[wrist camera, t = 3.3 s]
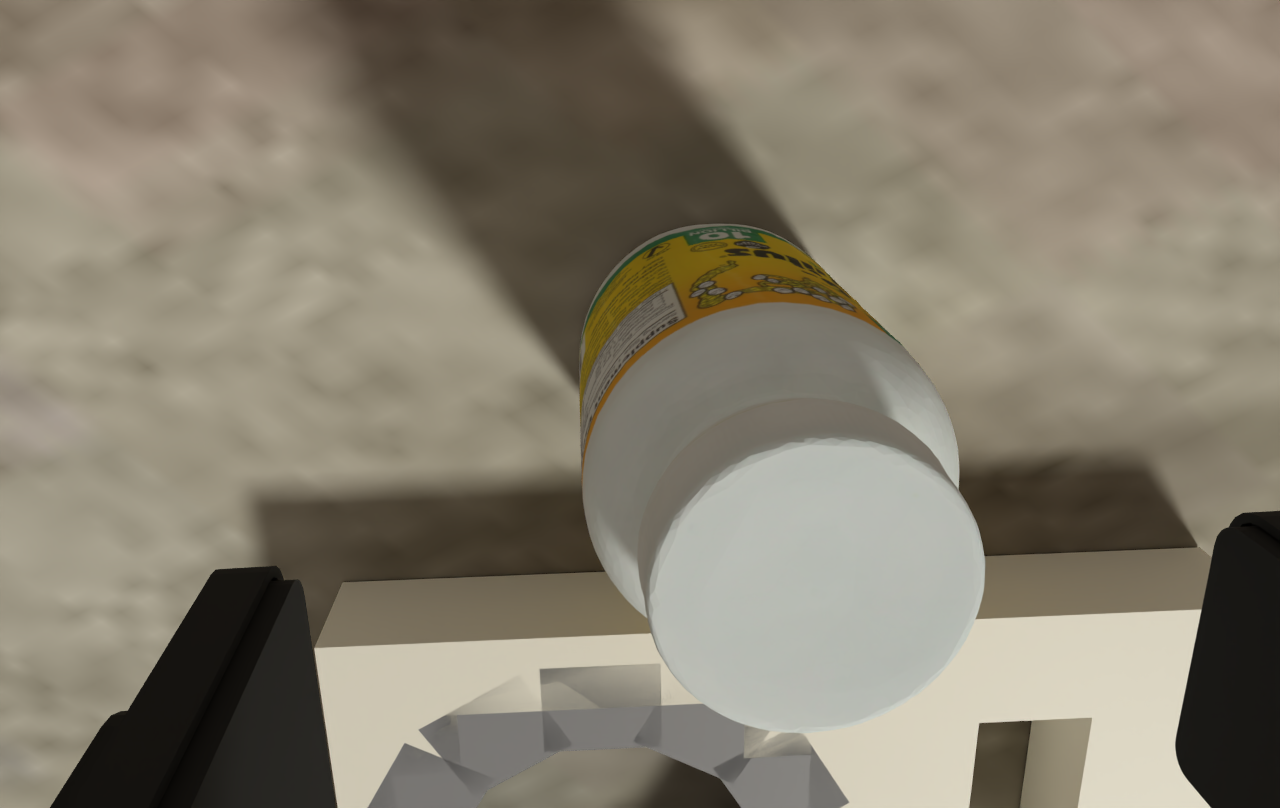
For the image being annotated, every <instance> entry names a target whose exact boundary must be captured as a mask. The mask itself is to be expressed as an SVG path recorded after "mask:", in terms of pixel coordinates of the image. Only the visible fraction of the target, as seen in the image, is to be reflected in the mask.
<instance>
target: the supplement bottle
mask: <svg viewBox="0 0 1280 808" xmlns="http://www.w3.org/2000/svg"><path fill="white" fill-rule="evenodd" d="M579 383H580V421H581V422H580V426H581V475H582V495H583V505H584V511H585V517H586V522H587V526H588V530H589V535H590V538H591V541H592V543H593V546H594V549H595V551H596V554H597V556H598V558H599V560H600V562H601V564H602V566H603V568H604V570H605V571H606V573H607V574H608V576H609V578H610V579H611V581H612V582H613V583H614V585H615V586H616V587H617V589H618V590H619V591H620V592H621V594H622V595H623V596H624V598H625V599H626V600H627V601H628V602H629V603H630V604H631V605H632V606H633V607H634V608H635V609H636V610H638V611H639V612H640V613H641V614H642V615H644V616H645V617H646V618H647V619H648V624H649V628H650V632H651V634H652V637H653V640H654V643H655V645H656V648H657V651H658V652H659V654H660V656H661V657H662V659H663V661H664V662H665V664H666V665H667V667H668V669H669V670H670V672H671V673H672V674H673V675H674V677H675V678H676V679H677V680H678V682H679V683H680V684H681V685H682V686H683V687H684V688H685V689H686V690H687V691H688V692H689V693H690V694H691V695H693V696H694V697H695V698H696V699H697V700H699V701H700V702H702V703H703V704H704V705H706V706H707V707H709V708H710V709H712V710H714V711H715V712H717V713H719V714H721V715H723V716H725V717H727V718H729V719H731V720H733V721H736V722H738V723H741V724H744V725H748V726H752V727H755V728H758V729H764V730H768V731H776V732H785V733H813V732H822V731H830V730H836V729H841V728H847V727H851V726H854V725H858V724H861V723H864V722H866V721H869V720H871V719H874V718H876V717H879V716H881V715H883V714H885V713H887V712H889V711H891V710H893V709H895V708H896V707H899V706H901V705H902V704H904V703H906V702H907V701H908V700H909V699H911V698H912V697H914V696H916V695H918V694H919V693H920V692H921V691H922V690H924V689H925V688H926V687H927V686H928V685H929V684H931V683H932V682H933V681H934V680H935V679H936V678H937V677H938V676H939V675H940V674H941V673H942V671H943V670H944V669H945V668H946V667H947V666H948V665H949V663H950V662H951V661H952V660H953V658H954V657H955V656H956V655H957V653H958V652H959V650H960V649H961V647H962V646H963V644H964V642H965V641H966V639H967V637H968V635H969V633H970V630H971V628H972V626H973V624H974V621H975V619H976V616H977V614H978V611H979V608H980V604H981V600H982V596H983V591H984V582H985V557H984V551H983V545H982V540H981V536H980V532H979V528H978V525H977V523H976V520H975V518H974V516H973V514H972V512H971V510H970V508H969V506H968V504H967V502H966V501H965V499H964V498H963V496H962V495H961V493H960V491H959V457H958V447H957V442H956V437H955V433H954V430H953V426H952V423H951V419H950V417H949V414H948V412H947V409H946V407H945V404H944V402H943V401H942V399H941V397H940V395H939V393H938V391H937V389H936V388H935V386H934V385H933V383H932V382H931V380H930V379H929V378H928V376H927V375H926V373H925V372H924V371H923V369H922V368H921V367H920V365H919V364H918V363H917V362H916V361H915V360H914V358H913V357H912V356H911V355H910V354H909V353H908V351H907V350H906V349H905V348H904V347H903V346H902V344H901V343H900V342H899V341H897V340H896V339H895V338H894V337H893V336H892V335H891V334H890V333H889V332H888V331H886V330H885V329H884V328H883V327H882V326H881V325H880V324H879V323H878V322H877V321H876V320H875V319H874V318H873V317H872V316H871V315H870V314H869V313H868V312H866V311H865V310H864V309H863V308H862V307H861V306H860V305H859V303H858V302H857V301H856V300H854V299H853V298H852V297H851V296H850V295H849V294H848V293H847V292H846V291H845V290H844V289H843V288H842V287H841V286H839V285H838V284H837V283H836V282H835V281H834V280H833V279H832V278H831V277H830V275H828V274H827V273H826V272H825V271H824V269H823V268H822V267H821V266H820V265H819V264H817V263H816V262H815V261H814V260H813V259H812V258H811V257H810V256H809V255H807V254H806V253H805V252H803V251H802V250H801V249H800V248H798V247H797V246H795V245H794V244H792V243H791V242H789V241H788V240H786V239H784V238H782V237H780V236H778V235H776V234H774V233H772V232H769V231H767V230H763V229H760V228H756V227H752V226H747V225H739V224H699V225H692V226H686V227H681V228H677V229H674V230H671V231H668V232H665V233H662V234H659V235H657V236H655V237H653V238H651V239H649V240H648V241H646V242H645V243H643V244H641V245H640V246H638V247H637V248H636V249H634V250H633V251H632V252H631V253H629V254H628V255H627V256H625V257H624V258H623V259H622V260H621V261H620V262H619V263H618V264H617V265H616V266H615V268H614V269H613V270H612V271H611V272H610V274H609V275H608V276H607V278H606V279H605V280H604V282H603V283H602V285H601V286H600V288H599V290H598V291H597V293H596V295H595V297H594V299H593V301H592V303H591V306H590V308H589V311H588V313H587V316H586V318H585V322H584V327H583V331H582V336H581V342H580V355H579Z"/></svg>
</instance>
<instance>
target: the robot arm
mask: <svg viewBox="0 0 1280 808" xmlns="http://www.w3.org/2000/svg"><path fill="white" fill-rule="evenodd" d="M1175 750H1176V757H1177V760H1178V764H1179V766H1180V769H1181V771H1182V773H1183V774H1184V776H1185V777H1186V779H1187V780H1188V781H1189V782H1190V784H1191V785H1192V786H1193V787H1194V788H1195V790H1196V791H1197V792H1198V793H1199V794H1200V795H1201V797H1202V798H1203V799H1204V800H1205V801H1206V802H1207V804H1208V805H1209V806H1210V807H1211V808H1280V511H1270V512H1252V513H1242V514H1240V515H1238V516H1237V517H1235V519H1234V520H1233V521H1232V523H1231V524H1230V526H1229V528H1225V529H1223V530H1222V531H1221V532H1220V533H1219V535H1218V536H1217V539H1216V541H1215V545H1214V550H1213V555H1212V560H1211V565H1210V570H1209V575H1208V580H1207V585H1206V590H1205V595H1204V600H1203V605H1202V610H1201V615H1200V620H1199V624H1198V629H1197V634H1196V639H1195V644H1194V649H1193V654H1192V659H1191V664H1190V669H1189V674H1188V679H1187V684H1186V689H1185V694H1184V699H1183V704H1182V709H1181V714H1180V719H1179V724H1178V729H1177V734H1176V740H1175ZM50 808H335V798H334V791H333V784H332V778H331V771H330V764H329V758H328V751H327V744H326V737H325V731H324V724H323V717H322V710H321V704H320V697H319V690H318V684H317V677H316V670H315V663H314V657H313V650H312V643H311V636H310V630H309V623H308V616H307V609H306V603H305V596H304V591H303V587H302V585H301V582H300V581H299V580H284V579H283V576H282V574H281V571H280V569H279V568H278V567H277V566H269V567H251V568H232V569H218V570H215V571H214V572H213V573H212V574H211V575H210V577H209V579H208V580H207V582H206V584H205V585H204V587H203V589H202V590H201V592H200V593H199V595H198V597H197V598H196V600H195V602H194V603H193V605H192V606H191V608H190V610H189V611H188V613H187V615H186V616H185V618H184V620H183V621H182V623H181V624H180V626H179V628H178V629H177V631H176V633H175V634H174V636H173V638H172V639H171V641H170V642H169V644H168V646H167V647H166V649H165V651H164V652H163V654H162V656H161V657H160V659H159V660H158V662H157V664H156V665H155V667H154V669H153V670H152V672H151V673H150V675H149V677H148V678H147V680H146V682H145V683H144V685H143V687H142V688H141V690H140V691H139V693H138V695H137V696H136V698H135V700H134V701H133V703H132V705H131V706H130V708H129V709H128V711H121V712H118V713H116V714H113V715H111V716H110V717H109V719H108V720H107V721H106V722H105V723H104V724H103V725H102V727H101V728H100V730H99V731H98V733H97V734H96V736H95V738H94V739H93V741H92V742H91V744H90V745H89V747H88V749H87V750H86V752H85V753H84V755H83V757H82V758H81V760H80V761H79V763H78V764H77V766H76V768H75V769H74V771H73V772H72V774H71V775H70V777H69V779H68V780H67V782H66V783H65V785H64V786H63V788H62V790H61V791H60V793H59V794H58V796H57V797H56V799H55V801H54V802H53V804H52V805H51V807H50Z"/></svg>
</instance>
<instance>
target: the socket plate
mask: <svg viewBox="0 0 1280 808" xmlns="http://www.w3.org/2000/svg"><path fill="white" fill-rule="evenodd" d="M984 557H985V582H984V591H983V596H982V600H981V604H980V608H979V611H978V614H977V616H976V619H975V621H974V624H973V626H972V628H971V630H970V633H969V635H968V637H967V639H966V641H965V642H964V644H963V646H962V647H961V649H960V650H959V652H958V653H957V655H956V656H955V657H954V658H953V660H952V661H951V662H950V663H949V665H948V666H947V667H946V668H945V669H944V670H943V671H942V673H941V674H940V675H939V676H938V677H937V678H936V679H935V680H934V681H933V682H932V683H931V684H929V685H928V686H927V687H926V688H925V689H924V690H922V691H921V692H920V693H919V694H918V695H916V696H914V697H912V698H911V699H909V700H908V701H907V702H906V703H904V704H902V705H901V706H899V707H896V708H895V709H893V710H891V711H889V712H887V713H885V714H883V715H881V716H879V717H876V718H874V719H871V720H869V721H866V722H864V723H861V724H858V725H854V726H851V727H847V728H841V729H836V730H830V731H822V732H813V733H785V732H776V731H768V730H764V729H758V728H755V727H752V726H748V725H744V724H741V723H738V722H736V721H733V720H731V719H729V718H727V717H725V716H723V715H721V714H719V713H717V712H715V711H714V710H712V709H710V708H709V707H707V706H706V705H704V704H703V703H702V702H700V701H699V700H697V699H696V698H695V697H694V696H693V695H691V694H690V693H689V692H688V691H687V690H686V689H685V688H684V687H683V686H682V685H681V684H680V683H679V682H678V680H677V679H676V678H675V677H674V675H673V674H672V673H671V672H670V670H669V669H668V667H667V665H666V664H665V662H664V661H663V659H662V657H661V656H660V654H659V652H658V651H657V648H656V645H655V643H654V640H653V637H652V634H651V632H650V628H649V624H648V619H647V618H646V617H645V616H644V615H642V614H641V613H640V612H639V611H638V610H636V609H635V608H634V607H633V606H632V605H631V604H630V603H629V602H628V601H627V600H626V599H625V598H624V596H623V595H622V594H621V592H620V591H619V590H618V589H617V587H616V586H615V585H614V583H613V582H612V581H611V579H610V578H609V576H608V574H607V573H606V572H585V573H561V574H536V575H512V576H487V577H462V578H438V579H413V580H389V581H364V582H343V583H342V585H341V587H340V590H339V592H338V594H337V596H336V599H335V601H334V603H333V606H332V608H331V610H330V613H329V615H328V617H327V620H326V622H325V624H324V627H323V629H322V631H321V634H320V636H319V638H318V641H317V643H316V645H315V647H314V650H315V657H316V663H317V670H318V677H319V684H320V691H321V697H322V704H323V711H324V718H325V725H326V731H327V738H328V745H329V752H330V759H331V765H332V772H333V779H334V786H335V793H336V799H337V806H338V808H477V806H478V804H479V803H480V801H481V800H482V798H483V796H484V795H485V793H486V791H487V790H488V789H490V788H492V787H494V786H496V785H498V784H500V783H502V782H503V781H505V780H507V779H509V778H511V777H513V776H515V775H516V774H518V773H520V772H522V771H524V770H526V769H528V768H530V767H531V766H533V765H535V764H537V763H539V762H541V761H543V760H544V759H546V758H548V757H550V756H552V755H554V754H556V753H558V752H559V751H577V750H597V749H618V748H638V747H647V748H650V749H652V750H654V751H657V752H659V753H661V754H664V755H666V756H668V757H671V758H673V759H675V760H678V761H680V762H683V763H685V764H687V765H690V766H692V767H694V768H697V769H699V770H701V771H704V772H706V773H708V774H711V775H713V776H716V777H718V778H720V779H721V780H722V782H723V783H724V785H725V786H726V787H727V789H728V790H729V791H730V793H731V794H732V796H733V797H734V798H735V800H736V801H737V803H738V804H739V805H740V807H741V808H969V804H970V796H971V788H972V779H973V771H974V762H975V754H976V745H977V737H978V728H979V723H990V722H1011V721H1032V724H1031V731H1030V738H1029V745H1028V752H1027V760H1026V767H1025V774H1024V781H1023V788H1022V795H1021V803H1020V808H1211V807H1210V806H1209V805H1208V804H1207V802H1206V801H1205V800H1204V799H1203V798H1202V797H1201V795H1200V794H1199V793H1198V792H1197V791H1196V790H1195V788H1194V787H1193V786H1192V785H1191V784H1190V782H1189V781H1188V780H1187V779H1186V777H1185V776H1184V774H1183V773H1182V771H1181V769H1180V766H1179V764H1178V760H1177V757H1176V750H1175V740H1176V734H1177V729H1178V724H1179V719H1180V714H1181V709H1182V704H1183V699H1184V694H1185V689H1186V684H1187V679H1188V674H1189V669H1190V664H1191V659H1192V654H1193V649H1194V644H1195V639H1196V634H1197V629H1198V624H1199V620H1200V615H1201V610H1202V605H1203V600H1204V595H1205V590H1206V585H1207V580H1208V575H1209V570H1210V565H1211V560H1212V557H1210V556H1209V555H1208V554H1207V553H1206V552H1204V551H1203V550H1202V549H1201V548H1200V547H1198V548H1174V549H1149V550H1125V551H1100V552H1076V553H1051V554H1027V555H1002V556H984Z"/></svg>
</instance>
